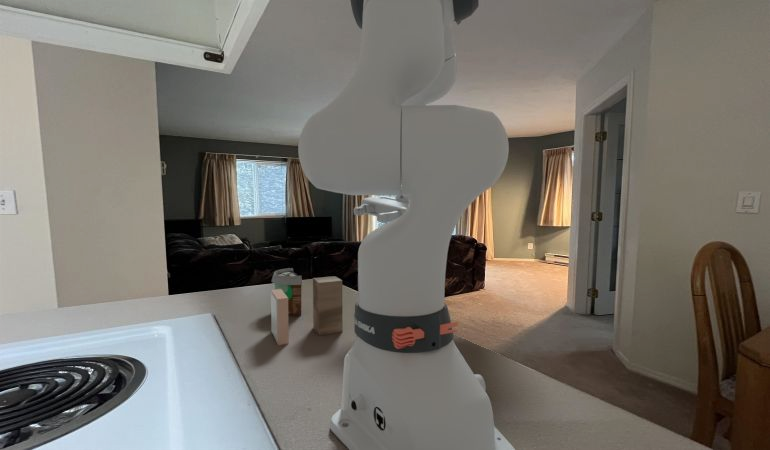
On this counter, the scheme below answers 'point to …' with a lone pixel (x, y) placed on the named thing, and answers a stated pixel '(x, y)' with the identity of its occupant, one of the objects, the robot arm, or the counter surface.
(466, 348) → the counter surface
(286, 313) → the tile
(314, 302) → the block
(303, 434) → the counter surface
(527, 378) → the counter surface
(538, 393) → the counter surface
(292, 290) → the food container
